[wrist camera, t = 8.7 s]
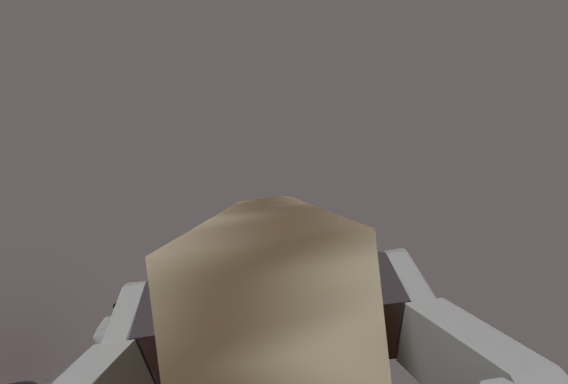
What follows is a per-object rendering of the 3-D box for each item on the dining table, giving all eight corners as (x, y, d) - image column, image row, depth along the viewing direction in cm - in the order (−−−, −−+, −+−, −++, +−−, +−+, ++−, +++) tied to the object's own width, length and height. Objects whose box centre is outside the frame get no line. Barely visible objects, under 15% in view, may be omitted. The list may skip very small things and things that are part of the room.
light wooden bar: (177, 518, 5) (145, 256, 5) (245, 257, 25) (239, 201, 25) (402, 482, 6) (374, 228, 6) (294, 251, 26) (288, 195, 25)
